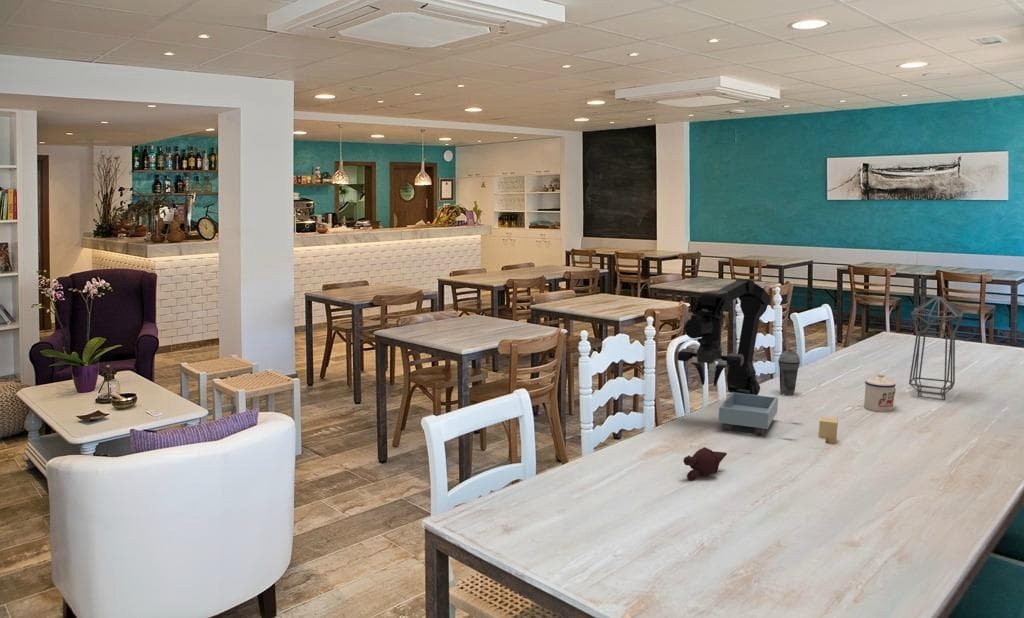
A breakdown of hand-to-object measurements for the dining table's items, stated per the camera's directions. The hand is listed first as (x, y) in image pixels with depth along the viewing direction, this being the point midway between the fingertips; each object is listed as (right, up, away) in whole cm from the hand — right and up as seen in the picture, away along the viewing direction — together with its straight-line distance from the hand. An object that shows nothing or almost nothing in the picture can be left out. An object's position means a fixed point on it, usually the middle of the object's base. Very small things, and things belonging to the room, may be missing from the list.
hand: (709, 385), depth 238 cm
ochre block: (+30, -14, -13) cm, 36 cm away
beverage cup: (+37, -7, +39) cm, 54 cm away
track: (+15, -13, -6) cm, 21 cm away
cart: (+11, -11, -4) cm, 16 cm away
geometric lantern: (+86, -8, +37) cm, 94 cm away
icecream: (-11, -18, -41) cm, 46 cm away
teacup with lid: (+62, -10, +22) cm, 66 cm away
